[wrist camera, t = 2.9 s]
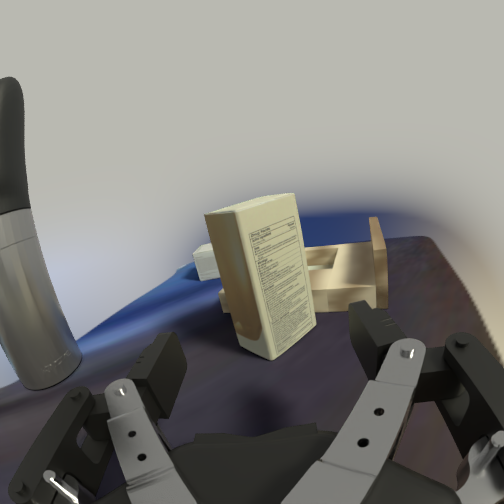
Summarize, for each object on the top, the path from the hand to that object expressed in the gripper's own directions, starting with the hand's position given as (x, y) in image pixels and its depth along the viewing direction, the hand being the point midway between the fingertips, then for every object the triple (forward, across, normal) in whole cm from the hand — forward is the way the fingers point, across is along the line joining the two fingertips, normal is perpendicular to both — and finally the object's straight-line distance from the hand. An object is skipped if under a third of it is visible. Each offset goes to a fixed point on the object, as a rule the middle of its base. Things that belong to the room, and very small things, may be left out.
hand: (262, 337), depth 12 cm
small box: (+33, +9, +7) cm, 35 cm away
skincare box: (+11, 0, +7) cm, 13 cm away
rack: (+22, -5, +7) cm, 23 cm away
